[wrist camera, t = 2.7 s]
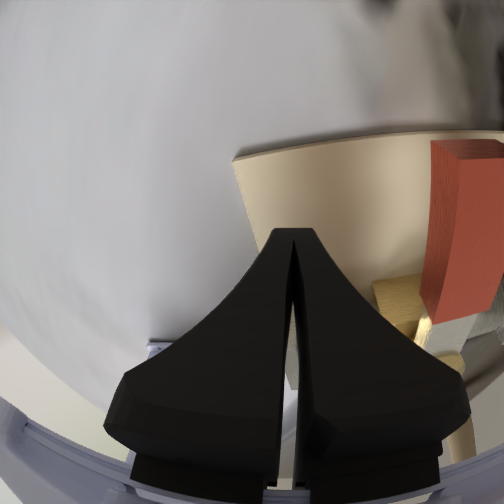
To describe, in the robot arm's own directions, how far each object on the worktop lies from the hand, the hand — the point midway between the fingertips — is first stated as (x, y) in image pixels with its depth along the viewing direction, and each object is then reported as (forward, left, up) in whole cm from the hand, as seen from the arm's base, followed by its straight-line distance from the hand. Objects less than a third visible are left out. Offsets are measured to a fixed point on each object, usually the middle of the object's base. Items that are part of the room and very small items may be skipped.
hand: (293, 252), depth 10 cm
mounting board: (+8, -7, -6) cm, 13 cm away
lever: (+7, -5, -1) cm, 8 cm away
